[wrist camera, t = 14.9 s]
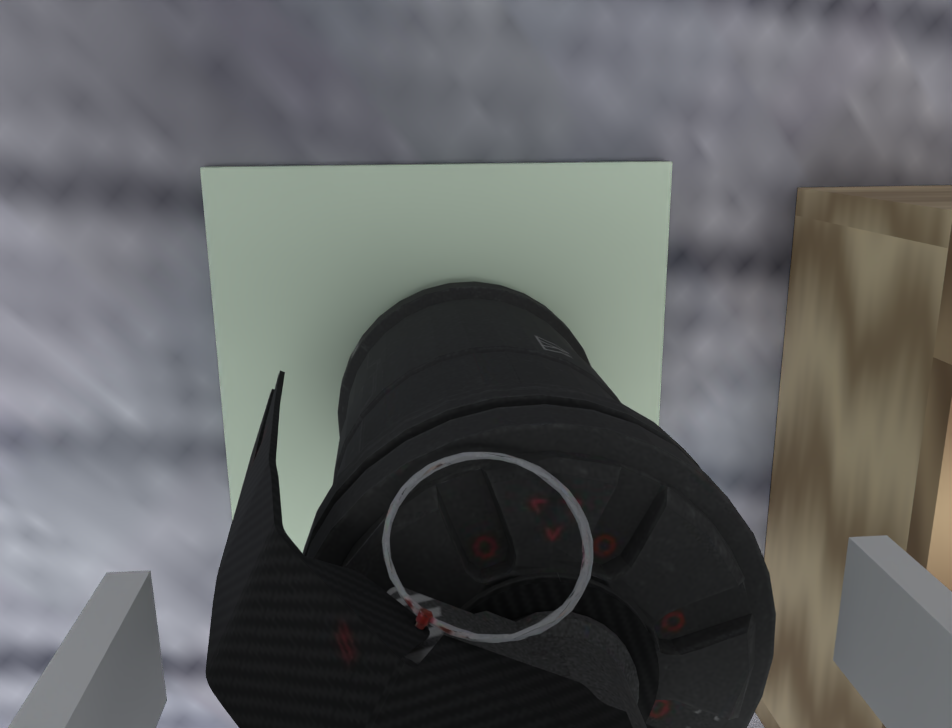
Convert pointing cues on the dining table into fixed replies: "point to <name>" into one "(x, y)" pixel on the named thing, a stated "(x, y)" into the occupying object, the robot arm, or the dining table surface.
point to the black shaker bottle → (489, 548)
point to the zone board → (416, 281)
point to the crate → (856, 425)
